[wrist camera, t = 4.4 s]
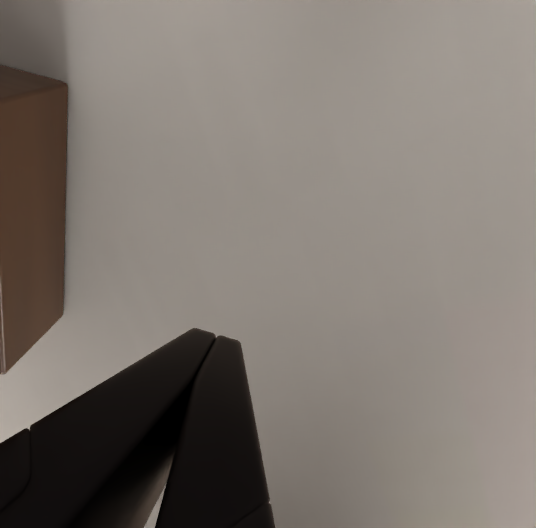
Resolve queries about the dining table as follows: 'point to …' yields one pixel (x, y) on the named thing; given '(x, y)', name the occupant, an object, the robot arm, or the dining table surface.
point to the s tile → (31, 209)
